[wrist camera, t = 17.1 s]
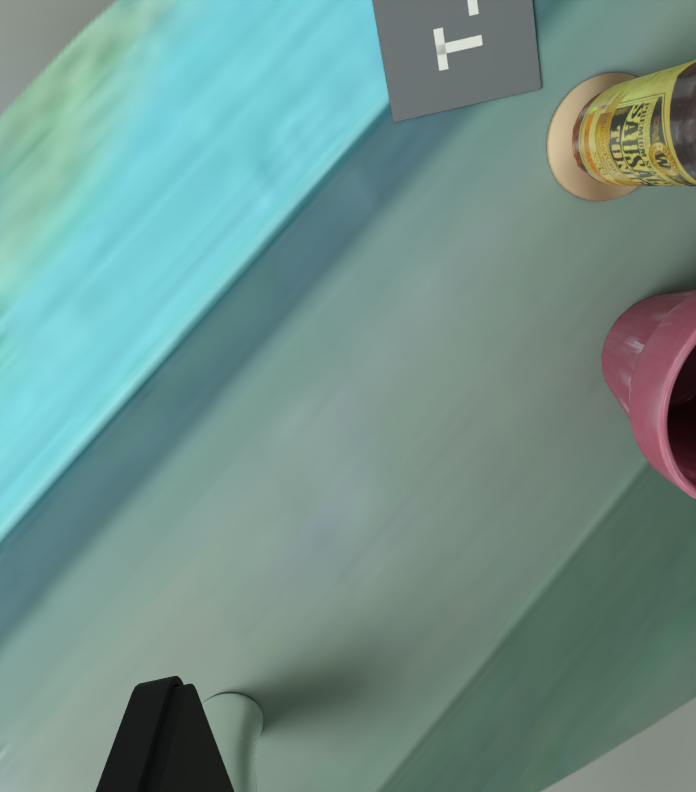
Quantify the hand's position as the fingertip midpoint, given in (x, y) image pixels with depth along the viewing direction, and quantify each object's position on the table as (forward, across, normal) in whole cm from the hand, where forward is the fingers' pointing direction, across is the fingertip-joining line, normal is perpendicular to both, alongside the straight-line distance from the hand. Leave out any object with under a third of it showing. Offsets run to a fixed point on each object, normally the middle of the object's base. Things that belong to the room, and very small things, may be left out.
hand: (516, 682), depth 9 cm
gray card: (+36, -10, -16) cm, 41 cm away
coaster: (+36, -19, -7) cm, 42 cm away
